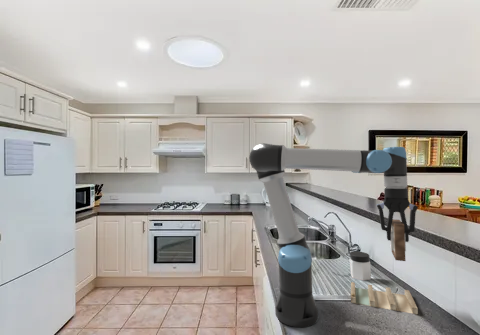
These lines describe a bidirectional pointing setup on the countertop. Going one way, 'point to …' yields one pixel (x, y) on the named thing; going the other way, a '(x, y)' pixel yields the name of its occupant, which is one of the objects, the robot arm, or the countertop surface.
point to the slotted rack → (383, 299)
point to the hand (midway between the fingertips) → (397, 249)
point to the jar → (360, 266)
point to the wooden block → (398, 240)
